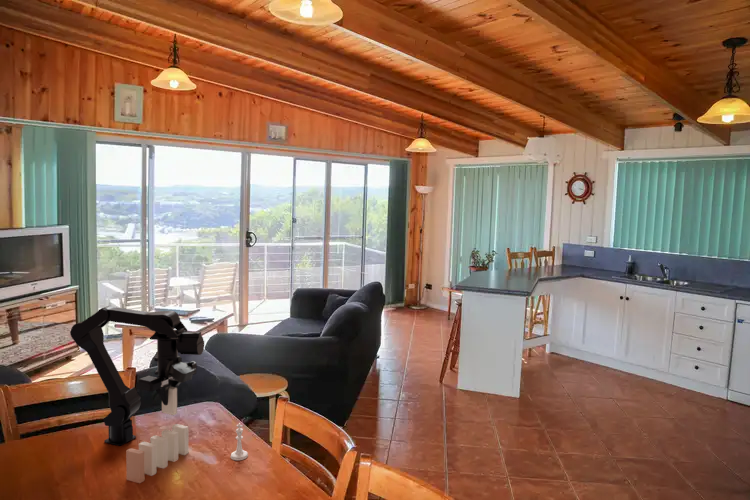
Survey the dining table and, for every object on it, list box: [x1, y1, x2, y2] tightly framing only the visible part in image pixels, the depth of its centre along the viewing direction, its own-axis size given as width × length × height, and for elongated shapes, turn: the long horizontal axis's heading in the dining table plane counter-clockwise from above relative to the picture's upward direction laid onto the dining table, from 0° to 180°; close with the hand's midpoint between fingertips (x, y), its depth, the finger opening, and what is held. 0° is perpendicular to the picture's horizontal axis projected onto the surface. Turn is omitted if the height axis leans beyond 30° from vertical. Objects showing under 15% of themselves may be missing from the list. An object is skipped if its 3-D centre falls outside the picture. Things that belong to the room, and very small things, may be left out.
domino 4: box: [161, 387, 178, 416], centre depth 158 cm, size 4×2×8 cm, turn 67°
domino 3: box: [149, 434, 169, 469], centre depth 145 cm, size 4×2×8 cm, turn 69°
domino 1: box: [125, 447, 146, 484], centre depth 137 cm, size 4×2×8 cm, turn 69°
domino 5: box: [161, 429, 179, 462], centre depth 149 cm, size 4×2×8 cm, turn 69°
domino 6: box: [171, 423, 189, 456], centre depth 153 cm, size 4×2×8 cm, turn 69°
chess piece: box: [230, 422, 249, 461], centre depth 152 cm, size 5×5×10 cm
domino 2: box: [138, 441, 157, 477], centre depth 141 cm, size 4×2×8 cm, turn 69°
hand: (168, 404), depth 159 cm, fingers closed on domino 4, 2 cm apart
